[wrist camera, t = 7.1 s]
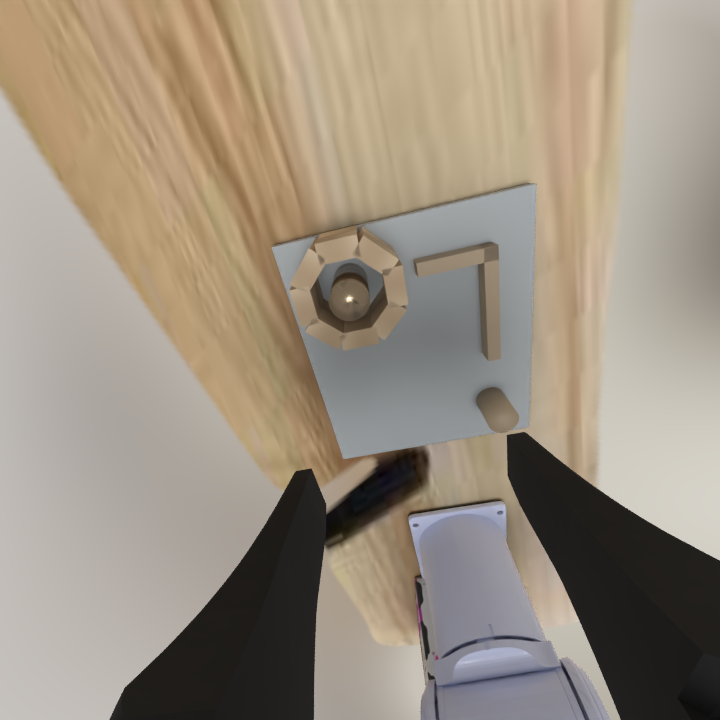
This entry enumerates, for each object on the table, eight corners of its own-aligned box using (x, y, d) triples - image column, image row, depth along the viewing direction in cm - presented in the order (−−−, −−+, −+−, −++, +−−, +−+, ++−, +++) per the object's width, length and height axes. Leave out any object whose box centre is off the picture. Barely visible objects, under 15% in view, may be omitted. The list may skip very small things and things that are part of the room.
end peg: (370, 292, 18) (373, 316, 15) (338, 300, 18) (334, 324, 15) (363, 259, 17) (364, 277, 14) (329, 267, 17) (323, 286, 14)
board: (523, 419, 23) (545, 450, 21) (343, 451, 24) (342, 484, 22) (528, 183, 16) (562, 184, 13) (274, 244, 17) (260, 256, 15)
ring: (405, 313, 18) (413, 336, 16) (317, 332, 19) (311, 357, 16) (389, 217, 16) (396, 224, 13) (289, 241, 16) (276, 253, 14)
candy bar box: (410, 575, 33) (454, 889, 18) (461, 571, 32) (546, 885, 18) (416, 629, 38) (453, 904, 24) (460, 625, 38) (524, 902, 23)
